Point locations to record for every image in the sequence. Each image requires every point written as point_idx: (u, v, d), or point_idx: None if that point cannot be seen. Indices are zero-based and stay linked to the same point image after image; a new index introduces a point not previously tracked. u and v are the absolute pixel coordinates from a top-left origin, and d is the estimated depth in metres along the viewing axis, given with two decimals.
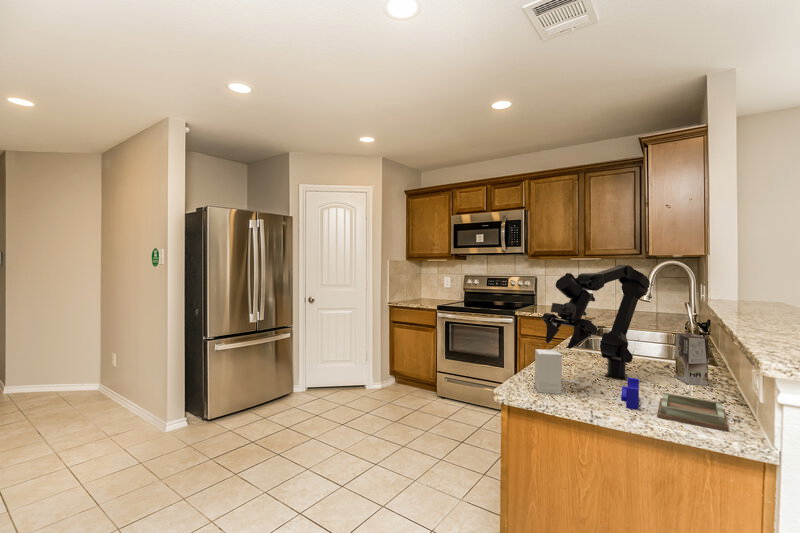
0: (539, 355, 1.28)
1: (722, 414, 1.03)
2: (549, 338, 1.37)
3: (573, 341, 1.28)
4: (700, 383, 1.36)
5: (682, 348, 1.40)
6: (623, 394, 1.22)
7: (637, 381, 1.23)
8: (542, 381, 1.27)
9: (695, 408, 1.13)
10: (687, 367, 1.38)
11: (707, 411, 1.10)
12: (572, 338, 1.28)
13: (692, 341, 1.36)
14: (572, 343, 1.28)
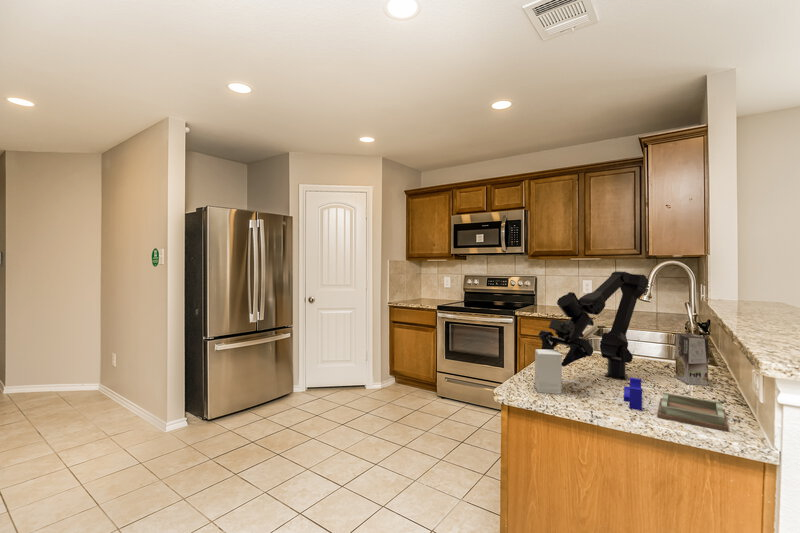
0: (539, 355, 1.28)
1: (722, 414, 1.03)
2: None
3: (567, 359, 1.27)
4: (700, 383, 1.36)
5: (682, 348, 1.40)
6: (625, 394, 1.22)
7: (639, 381, 1.23)
8: (542, 381, 1.27)
9: (695, 408, 1.13)
10: (687, 367, 1.38)
11: (707, 411, 1.10)
12: (567, 356, 1.27)
13: (692, 341, 1.36)
14: (566, 361, 1.27)
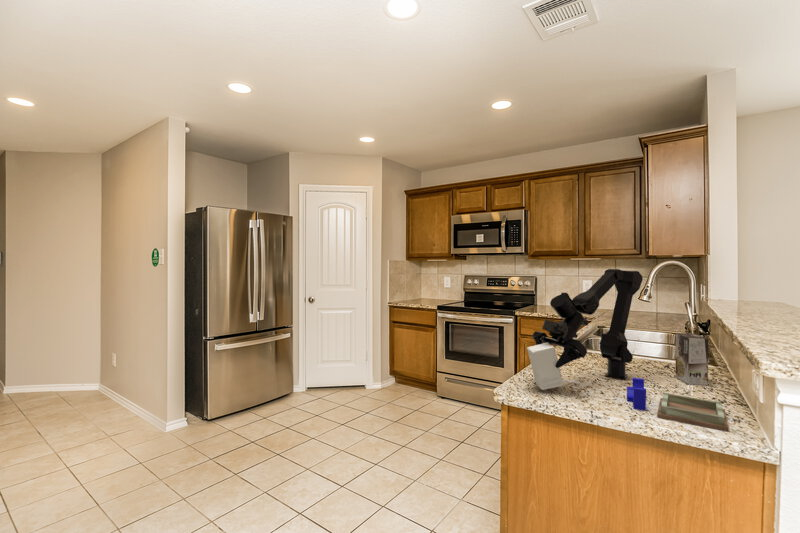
0: (533, 353, 1.27)
1: (722, 414, 1.03)
2: None
3: (561, 360, 1.25)
4: (700, 383, 1.36)
5: (682, 348, 1.40)
6: (629, 394, 1.21)
7: (642, 381, 1.22)
8: (543, 378, 1.27)
9: (695, 408, 1.13)
10: (687, 367, 1.38)
11: (707, 411, 1.10)
12: (561, 357, 1.26)
13: (692, 341, 1.36)
14: (560, 362, 1.26)
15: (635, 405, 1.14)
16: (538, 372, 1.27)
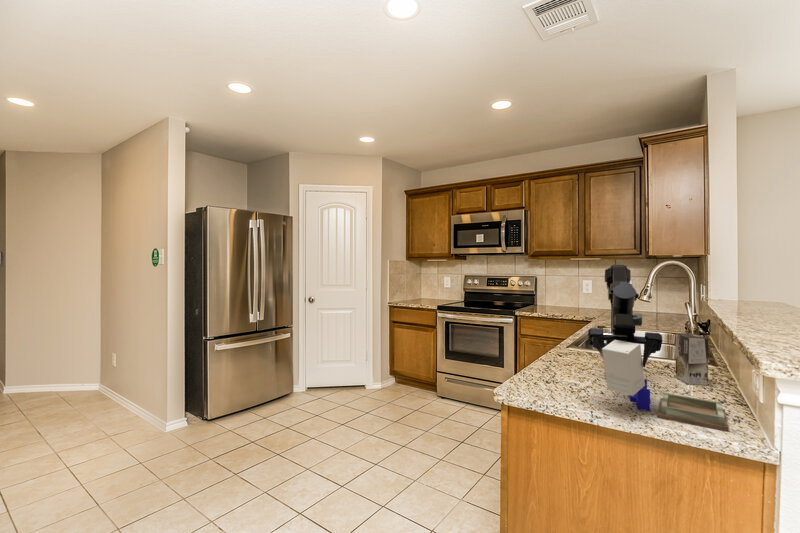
0: (628, 355, 1.07)
1: (722, 414, 1.03)
2: None
3: (647, 358, 1.11)
4: (700, 383, 1.36)
5: (682, 348, 1.40)
6: None
7: (645, 381, 1.22)
8: (634, 381, 1.09)
9: (695, 408, 1.13)
10: (687, 367, 1.38)
11: (707, 411, 1.10)
12: (646, 354, 1.11)
13: (692, 341, 1.36)
14: (646, 360, 1.11)
15: (639, 405, 1.14)
16: (631, 376, 1.08)
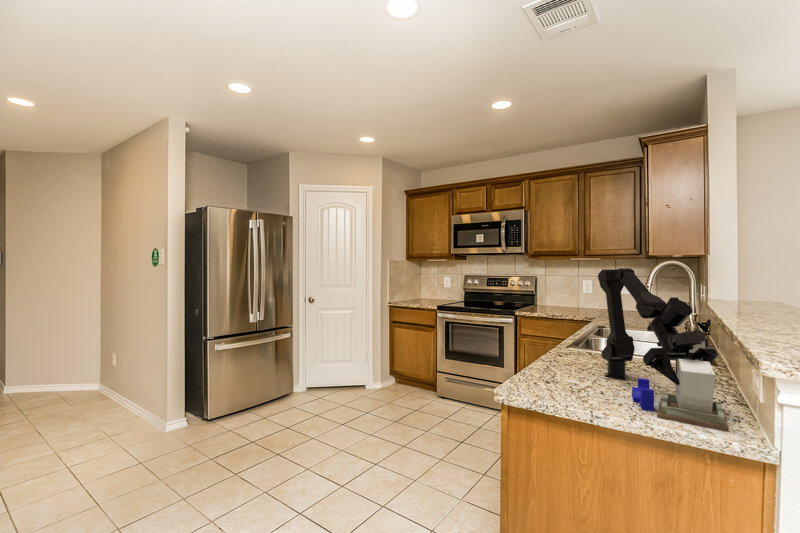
0: (715, 375, 1.03)
1: (722, 414, 1.03)
2: None
3: None
4: None
5: None
6: (635, 395, 1.21)
7: (648, 382, 1.22)
8: None
9: None
10: None
11: None
12: None
13: None
14: None
15: (643, 406, 1.14)
16: (713, 396, 1.04)
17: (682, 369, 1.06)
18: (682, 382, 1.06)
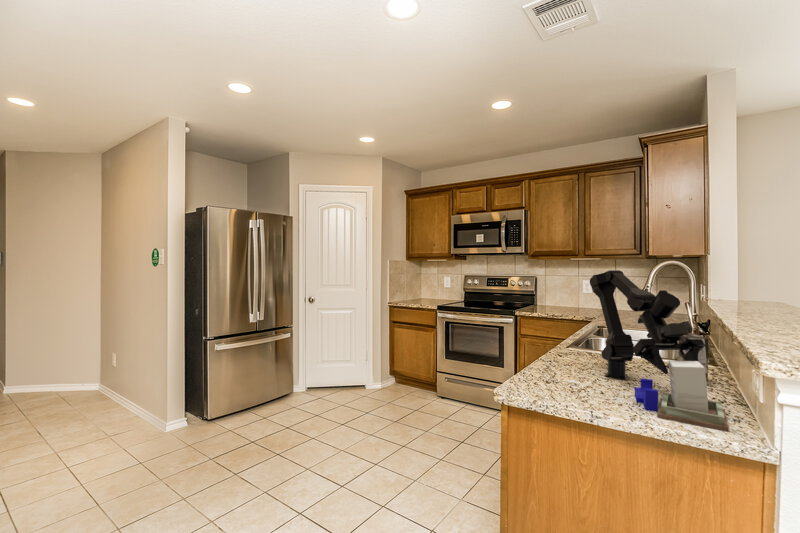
0: (704, 368, 1.07)
1: (722, 414, 1.03)
2: None
3: None
4: None
5: None
6: (638, 395, 1.21)
7: (651, 382, 1.22)
8: None
9: None
10: None
11: None
12: None
13: None
14: None
15: (647, 406, 1.13)
16: (706, 391, 1.07)
17: (673, 365, 1.10)
18: (675, 378, 1.10)
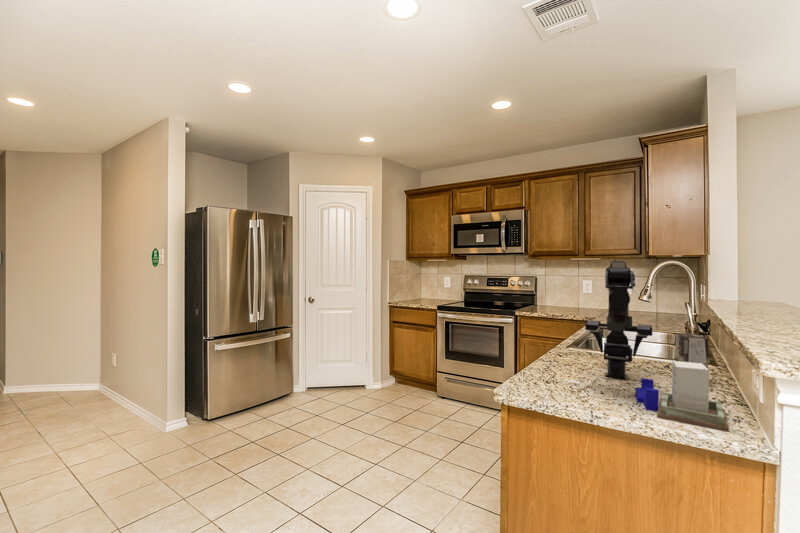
0: (708, 371, 1.07)
1: (722, 414, 1.03)
2: (602, 346, 1.31)
3: None
4: None
5: (682, 348, 1.40)
6: (639, 395, 1.21)
7: (651, 382, 1.22)
8: None
9: None
10: None
11: None
12: (636, 347, 1.25)
13: (692, 341, 1.36)
14: (636, 351, 1.26)
15: (647, 406, 1.14)
16: None
17: (677, 366, 1.10)
18: (678, 379, 1.09)
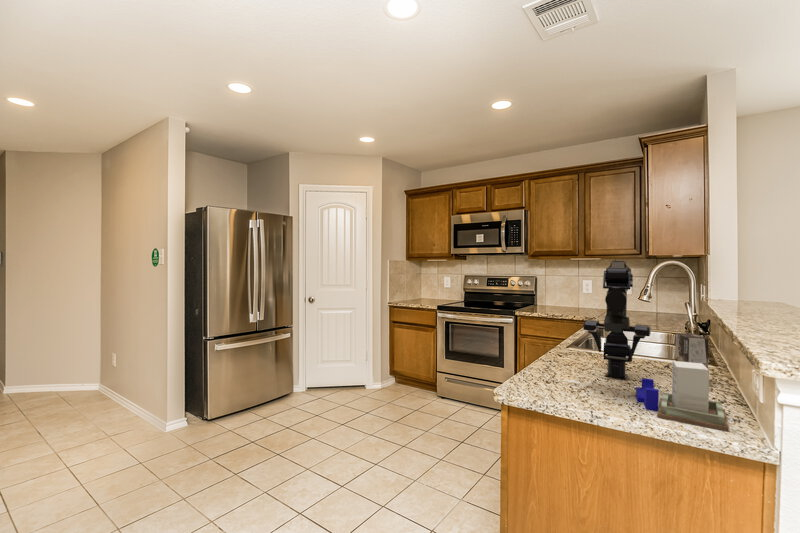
0: (708, 371, 1.07)
1: (722, 414, 1.03)
2: (600, 346, 1.32)
3: None
4: None
5: (682, 348, 1.40)
6: (639, 395, 1.21)
7: (652, 381, 1.22)
8: None
9: None
10: None
11: None
12: (634, 347, 1.26)
13: (692, 341, 1.36)
14: (634, 351, 1.26)
15: (647, 406, 1.14)
16: None
17: (677, 366, 1.10)
18: (678, 379, 1.09)
